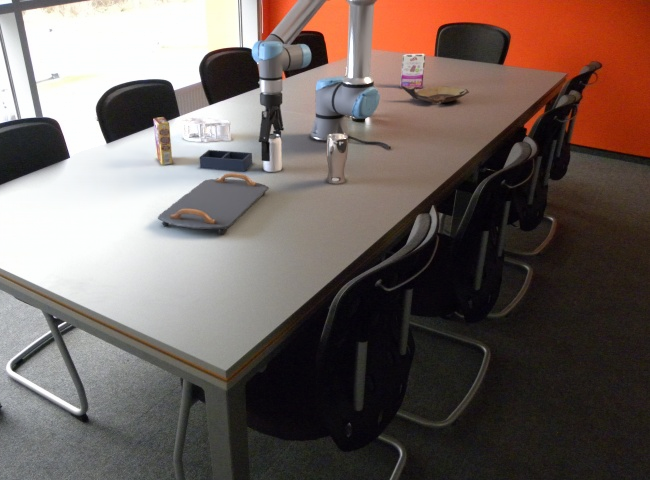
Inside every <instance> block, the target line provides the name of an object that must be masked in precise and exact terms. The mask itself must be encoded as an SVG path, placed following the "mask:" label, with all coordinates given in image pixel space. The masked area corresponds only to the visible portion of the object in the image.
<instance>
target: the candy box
mask: <svg viewBox="0 0 650 480" xmlns="http://www.w3.org/2000/svg"><path fill="white" fill-rule="evenodd" d="M170 128H171V127H170V122H169V120H167V119H166V118H165V117H164V116H161V117H154V118H153V129H154V140H155V149H156V159H157V160H158V161H159V163H160V164H161V165H162V166H166V165H173V153H172V152H173V151H172V141H171V140H172V139H171V129H170Z"/></svg>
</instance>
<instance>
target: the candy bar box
mask: <svg viewBox="0 0 650 480" xmlns="http://www.w3.org/2000/svg"><path fill="white" fill-rule="evenodd" d="M401 62H402V63H401V76H400V89H403V88H402V87H401V86H402V85H404V86H422V87H415V89H423V85H424V72H425V62H426V54H425V53H402V60H401ZM409 88H411V87H409Z"/></svg>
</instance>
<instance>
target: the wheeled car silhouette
mask: <svg viewBox="0 0 650 480" xmlns="http://www.w3.org/2000/svg"><path fill="white" fill-rule="evenodd" d="M181 123H182V133H183V139H184V140H186V141H189V142H196V143H211V142H212V143H213V142H230V141H232V134H231V133H232V132H231V121H230V120H227V119H215V118H206V117H191V118H188V119H183V120H182V122H181ZM190 127H192V131H193V132H192V133H190ZM208 127H209V133H208V131H207V129H208ZM213 127H214V133H213ZM186 132H187V133H186ZM196 137H199V138H196Z"/></svg>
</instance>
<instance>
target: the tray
mask: <svg viewBox="0 0 650 480" xmlns="http://www.w3.org/2000/svg"><path fill="white" fill-rule="evenodd" d="M198 160H199V168H200V169H207V170H216V171H217V170H218V171H229V172H230V171H231V172H243V173H244V172H246V171H247V170H248V169H249V168H250V167H251V166H252V165H253V153H252V152H244V151H231V150H218V149H217V150H215V149H208V150H206V152H204V153H203V154H201V155H200V156H199V159H198Z"/></svg>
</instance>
